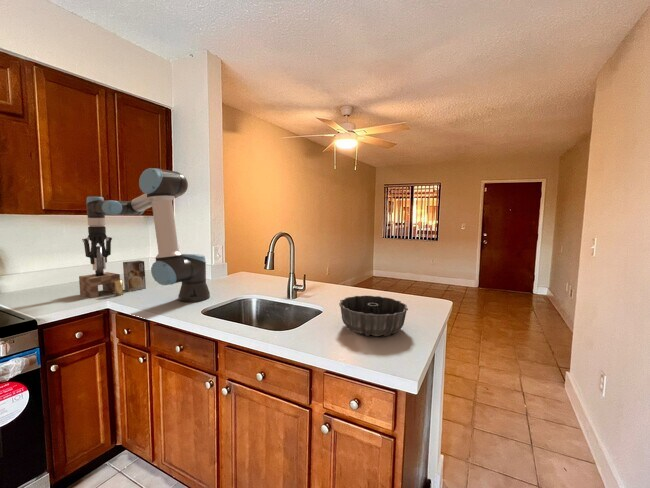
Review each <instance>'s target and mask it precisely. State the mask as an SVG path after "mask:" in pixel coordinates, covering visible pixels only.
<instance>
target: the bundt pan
mask: <svg viewBox="0 0 650 488" xmlns="http://www.w3.org/2000/svg"><path fill="white" fill-rule="evenodd" d="M338 304H339V307H340V312H341V320H342V322H343V324H344V325H345V326H346V328H347V329H348V331H352V332H355V333H357V334H361V335H362V334H364V336H367V337H368V336H370V335H372V336H373V337H380V336H384V337H387V336H390V335H393V334H396V333H397V332H398V331H399V330H401V329H402V328H403V327H404V324H405V320H406V319H405V318H406V316H407V315H406V314H407V311H409V308H408V305H407V304H406V303H403V302H402V301H401V300H396V299H394V298H392V297H383V296H380V295H377V296H374V295H354V296H348V297H345V298H344V299H341V300H340V302H339V303H338Z"/></svg>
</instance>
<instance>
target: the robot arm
mask: <svg viewBox="0 0 650 488" xmlns="http://www.w3.org/2000/svg"><path fill="white" fill-rule="evenodd" d="M138 181H139V182H138V187H139V189H140V190H141V192H142V193H143V194H141V195H139V196H137V197H135V198H133V199H132V200H128V201H127V200H112V199H111V200H110V199H108V200H107V199H106V200H104V199H105V198H104V197H103V196H87V197H86V203H85V204H86V215H87V226H88V227H87V228H88V229H87V231H88V232H87V233H88V235H87V237H85V238H82V240H81V241H82V242H83V245H84V252H85V257H86V258H89V259H90V265H92V271H95V270H97V260H96V258H95V251H96V246H102V253H103V270H106V269H107V266H106V264H107V263H108V257H109V256H111V254H112V253H111V252H112V250H111V249H112V247H111V246H112V240H113V238H112V237H110V236H107V234H106V233H107V231H106V229H107V228H106V216H140V215H143V214H144V213H145V210H146V211H147V210H148V209H150V208H152V215H153V222H154V229H155V237H156V244H157V251H158V253H157V255H156V256H155V257H154V258H155V261H154V262H153V263H152V265H151V268H150V272H151V276H152V278H153V279H154V281H155V282H157V284H159V285H161V286H169V285H170V286H171V285H175V284H177V283H181V285H180V289H179V293H178V299H177V300H178V301H180V302H184V303H195V302H201V301H205V300H208V299H210V298H211V293H210V290H209V287H208V285H207V270H206V269H207V265H206V263H207V261H206V257H205V255H203V254H195V253H193V254H192V253H191V254H190V253H182V252H181V251H179V244H178V243H179V242H178V237H177V230H176V220H175V214H174V207H173V200H174V199H176V198H177V199H178V198H179V197H181V196H183V195H184V194H185V193H186V192H187V190H188V187H189V183H188V180H187V178H186V177H185V175H184V174H183V173H180V172H178V171H175V170H168V169H162V168H158V167H157V168H156V167H155V168H152V167H149V168H146V169H144V171H143V172H142V173H141V174H140V177H139V180H138ZM90 242H91V243H90Z"/></svg>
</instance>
